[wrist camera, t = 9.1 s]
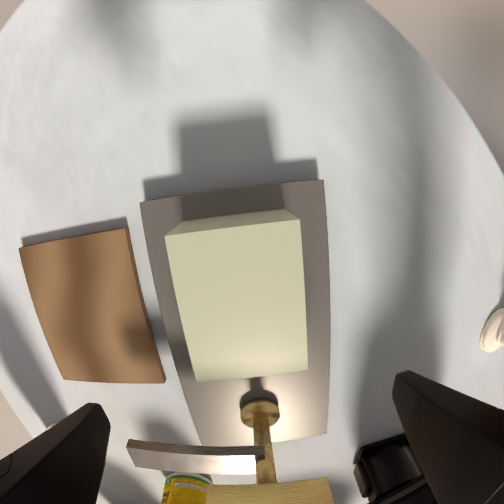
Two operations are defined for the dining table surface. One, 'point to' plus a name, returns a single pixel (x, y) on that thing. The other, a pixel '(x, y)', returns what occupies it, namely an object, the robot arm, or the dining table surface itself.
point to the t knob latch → (236, 464)
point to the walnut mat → (93, 308)
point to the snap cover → (241, 294)
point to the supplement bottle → (185, 488)
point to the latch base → (317, 314)
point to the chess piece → (493, 332)
